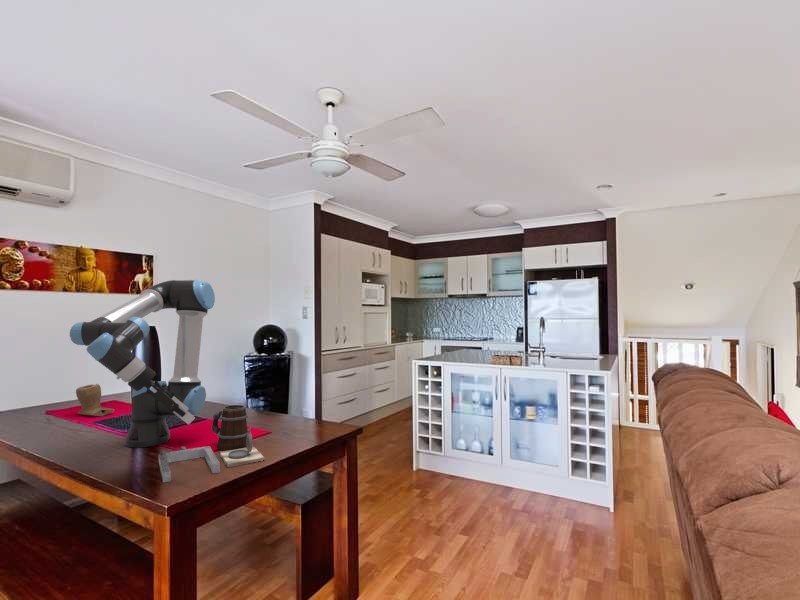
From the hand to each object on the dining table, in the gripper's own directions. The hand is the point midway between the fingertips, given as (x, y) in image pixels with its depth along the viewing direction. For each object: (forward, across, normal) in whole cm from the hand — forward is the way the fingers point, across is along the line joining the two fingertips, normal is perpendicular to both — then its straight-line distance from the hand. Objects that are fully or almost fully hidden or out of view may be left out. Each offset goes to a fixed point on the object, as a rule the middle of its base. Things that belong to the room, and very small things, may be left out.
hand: (188, 416), depth 141 cm
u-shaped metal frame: (+12, -3, -12) cm, 17 cm away
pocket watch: (+24, +1, +1) cm, 24 cm away
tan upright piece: (-6, -101, -34) cm, 106 cm away
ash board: (+24, 0, 0) cm, 24 cm away
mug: (+24, -17, 0) cm, 29 cm away
